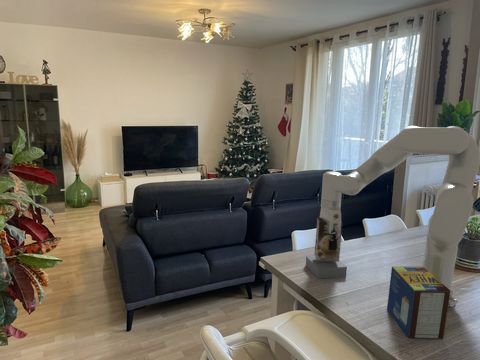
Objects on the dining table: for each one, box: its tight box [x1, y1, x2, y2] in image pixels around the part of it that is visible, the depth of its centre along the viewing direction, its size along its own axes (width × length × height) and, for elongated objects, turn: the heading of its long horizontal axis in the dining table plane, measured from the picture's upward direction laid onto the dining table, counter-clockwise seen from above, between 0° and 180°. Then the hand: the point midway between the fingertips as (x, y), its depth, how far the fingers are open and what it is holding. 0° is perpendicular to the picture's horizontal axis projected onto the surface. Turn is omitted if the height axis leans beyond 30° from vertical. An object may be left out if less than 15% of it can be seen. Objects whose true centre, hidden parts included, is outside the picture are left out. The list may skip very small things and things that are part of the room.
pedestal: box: [305, 255, 348, 279], centre depth 142 cm, size 12×12×4 cm
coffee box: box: [314, 216, 343, 262], centre depth 139 cm, size 9×6×16 cm
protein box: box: [386, 265, 450, 340], centre depth 107 cm, size 10×15×16 cm
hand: (327, 245), depth 140 cm, fingers closed on coffee box, 7 cm apart
